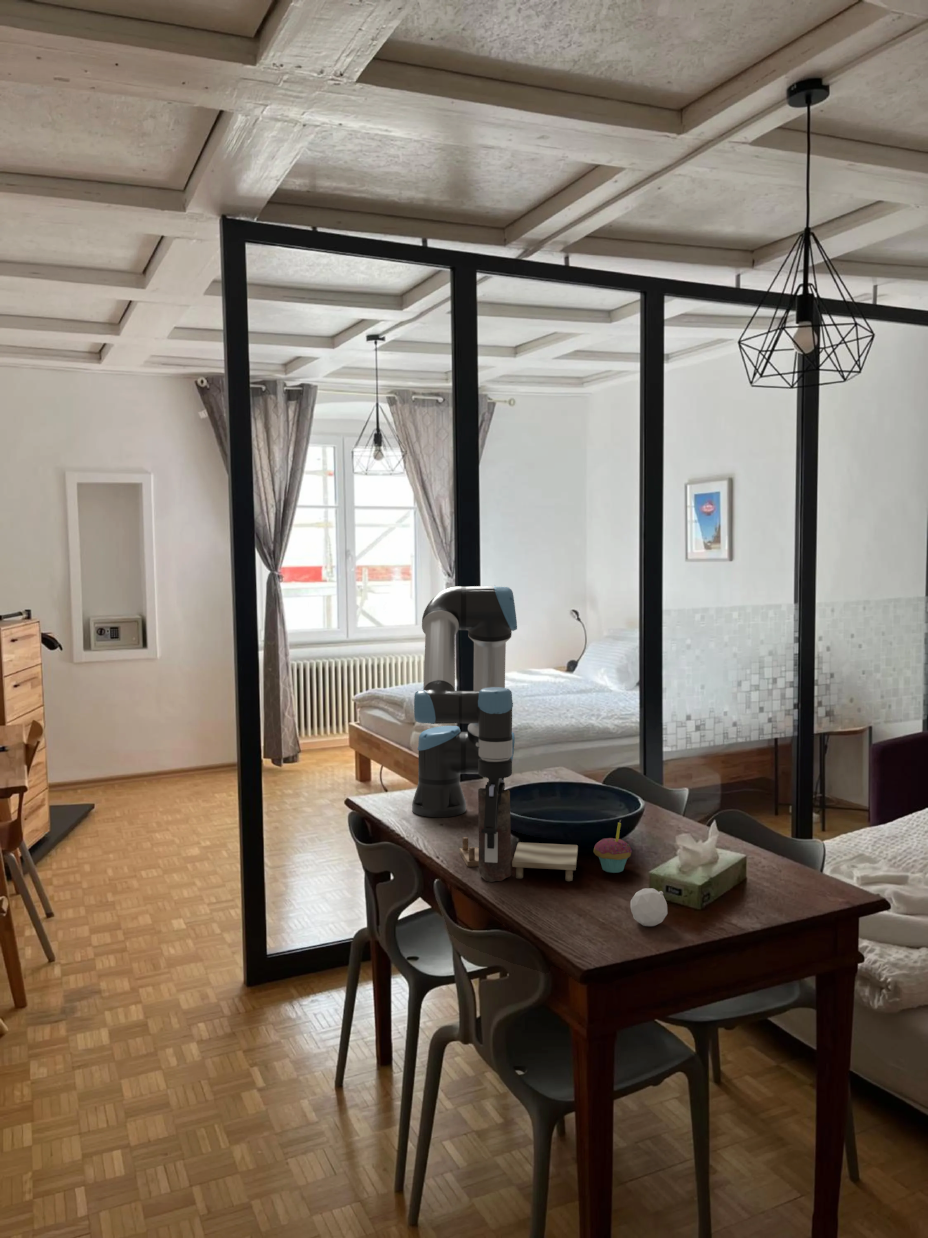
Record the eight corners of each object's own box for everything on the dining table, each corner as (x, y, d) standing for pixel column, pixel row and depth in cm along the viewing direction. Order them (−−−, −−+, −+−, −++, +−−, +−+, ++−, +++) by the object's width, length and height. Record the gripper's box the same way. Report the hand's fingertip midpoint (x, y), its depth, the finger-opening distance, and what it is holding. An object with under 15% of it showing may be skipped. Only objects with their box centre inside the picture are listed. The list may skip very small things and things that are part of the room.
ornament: (645, 913, 190) (670, 886, 188) (656, 940, 183) (682, 912, 181) (618, 900, 188) (643, 872, 185) (628, 927, 181) (654, 898, 179)
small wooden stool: (518, 858, 224) (518, 842, 223) (577, 862, 222) (577, 845, 221) (512, 879, 210) (512, 861, 210) (575, 882, 208) (575, 865, 207)
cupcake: (638, 869, 217) (639, 818, 216) (617, 878, 210) (618, 825, 209) (607, 860, 222) (607, 810, 222) (585, 869, 216) (586, 818, 215)
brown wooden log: (472, 873, 214) (473, 786, 212) (502, 869, 216) (502, 783, 215) (487, 884, 207) (487, 794, 205) (517, 880, 209) (517, 791, 208)
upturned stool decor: (459, 853, 228) (459, 837, 228) (499, 850, 230) (499, 834, 230) (467, 866, 218) (467, 849, 218) (509, 864, 220) (509, 847, 220)
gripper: (485, 745, 222) (485, 835, 224) (470, 770, 198) (470, 869, 200) (517, 747, 221) (517, 836, 223) (505, 771, 197) (505, 871, 198)
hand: (494, 852), depth 211 cm, fingers open, 12 cm apart
